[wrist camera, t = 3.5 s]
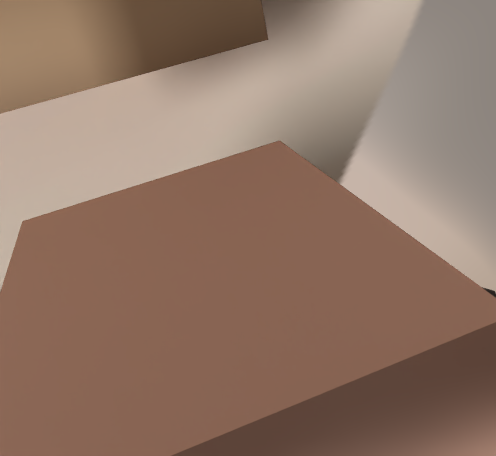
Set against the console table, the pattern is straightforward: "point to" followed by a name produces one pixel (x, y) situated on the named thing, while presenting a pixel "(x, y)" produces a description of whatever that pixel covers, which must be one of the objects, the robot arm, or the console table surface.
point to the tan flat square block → (111, 41)
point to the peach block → (240, 325)
